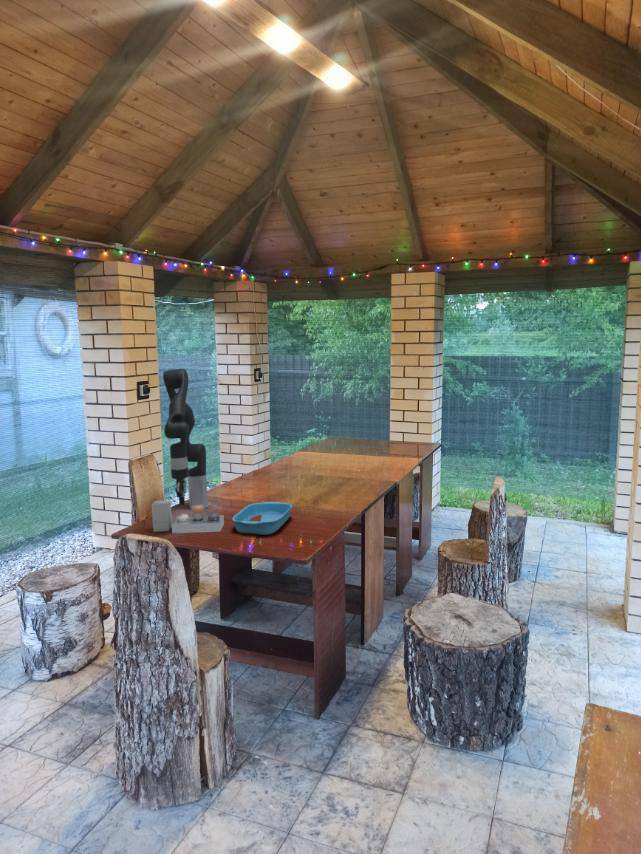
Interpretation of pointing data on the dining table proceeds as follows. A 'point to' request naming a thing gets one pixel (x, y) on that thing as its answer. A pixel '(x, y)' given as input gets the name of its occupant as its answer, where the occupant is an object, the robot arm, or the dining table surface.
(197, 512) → the tan egg
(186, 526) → the mount
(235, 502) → the dining table surface
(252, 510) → the casserole dish
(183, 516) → the grey oval piece
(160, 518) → the supplement box
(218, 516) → the knob
